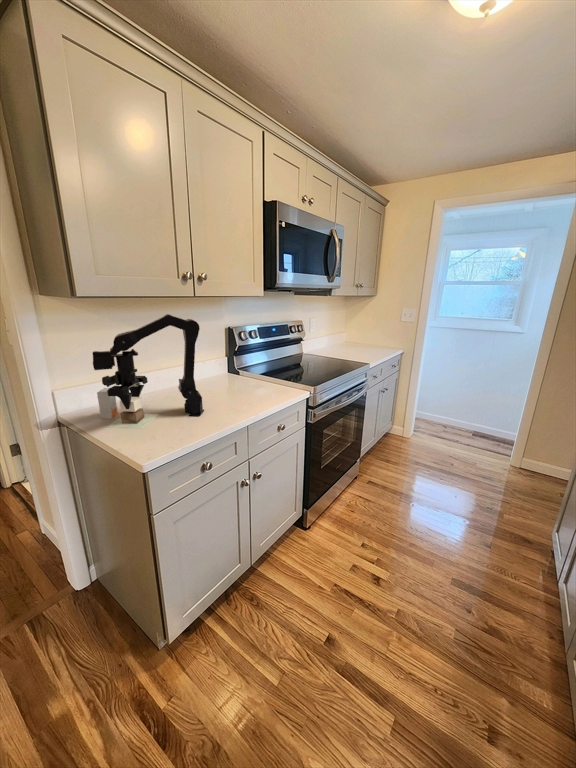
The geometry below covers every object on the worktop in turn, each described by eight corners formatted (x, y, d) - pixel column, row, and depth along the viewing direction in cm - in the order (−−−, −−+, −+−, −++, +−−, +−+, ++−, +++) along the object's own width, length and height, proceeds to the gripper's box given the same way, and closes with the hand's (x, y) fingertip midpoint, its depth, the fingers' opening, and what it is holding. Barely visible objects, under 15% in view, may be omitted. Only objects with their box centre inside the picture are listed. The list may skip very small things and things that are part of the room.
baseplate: (158, 416, 132) (158, 414, 132) (142, 430, 118) (142, 428, 118) (125, 415, 132) (125, 413, 132) (106, 429, 119) (105, 427, 119)
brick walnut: (144, 417, 128) (143, 408, 127) (137, 423, 122) (135, 414, 121) (130, 417, 128) (128, 408, 127) (121, 423, 122) (120, 413, 121)
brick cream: (142, 406, 126) (140, 397, 125) (134, 411, 121) (133, 401, 120) (129, 406, 127) (127, 396, 125) (121, 411, 121) (119, 401, 120)
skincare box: (112, 420, 127) (107, 392, 124) (101, 420, 127) (96, 392, 123) (118, 414, 133) (114, 387, 129) (108, 414, 132) (103, 387, 129)
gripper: (119, 361, 128) (124, 398, 133) (89, 373, 110) (96, 414, 115) (145, 362, 128) (150, 398, 132) (120, 374, 110) (126, 415, 114)
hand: (131, 406), depth 124 cm, fingers closed on brick cream, 5 cm apart
